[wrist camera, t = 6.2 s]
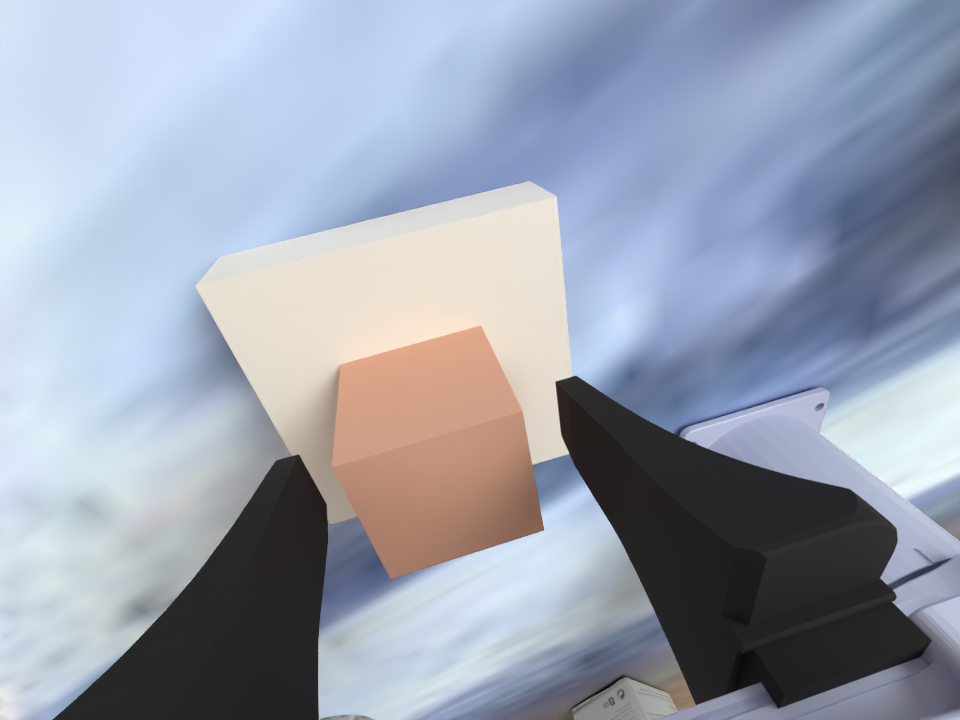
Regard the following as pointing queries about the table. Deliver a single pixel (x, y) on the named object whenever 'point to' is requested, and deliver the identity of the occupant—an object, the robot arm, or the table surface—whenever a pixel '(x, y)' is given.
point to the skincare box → (626, 703)
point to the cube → (434, 452)
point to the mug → (347, 717)
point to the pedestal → (398, 311)
